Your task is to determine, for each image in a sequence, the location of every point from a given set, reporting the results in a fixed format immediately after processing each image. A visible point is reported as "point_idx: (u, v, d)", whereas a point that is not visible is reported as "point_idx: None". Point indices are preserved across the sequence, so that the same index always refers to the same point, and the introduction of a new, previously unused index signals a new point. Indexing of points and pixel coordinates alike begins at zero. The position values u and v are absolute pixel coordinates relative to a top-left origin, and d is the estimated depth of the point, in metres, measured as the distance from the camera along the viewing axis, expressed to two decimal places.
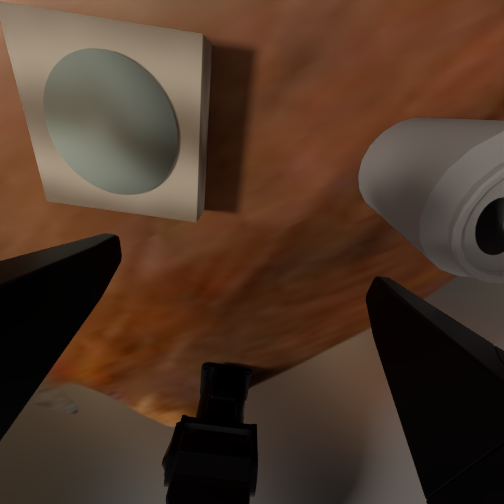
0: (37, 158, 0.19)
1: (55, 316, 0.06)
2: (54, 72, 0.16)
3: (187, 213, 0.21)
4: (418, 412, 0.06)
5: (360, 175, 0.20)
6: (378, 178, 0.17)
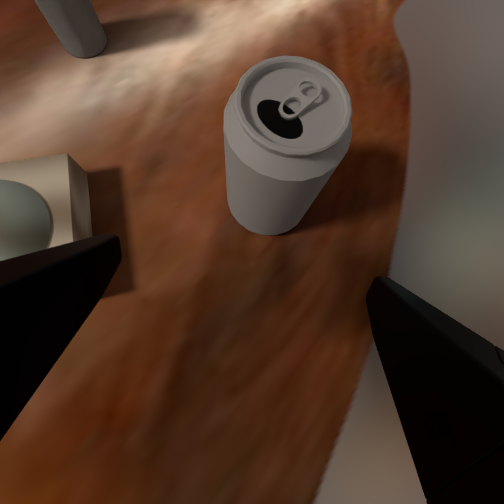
0: None
1: (55, 316, 0.06)
2: None
3: None
4: (418, 412, 0.06)
5: (230, 210, 0.23)
6: (228, 186, 0.20)
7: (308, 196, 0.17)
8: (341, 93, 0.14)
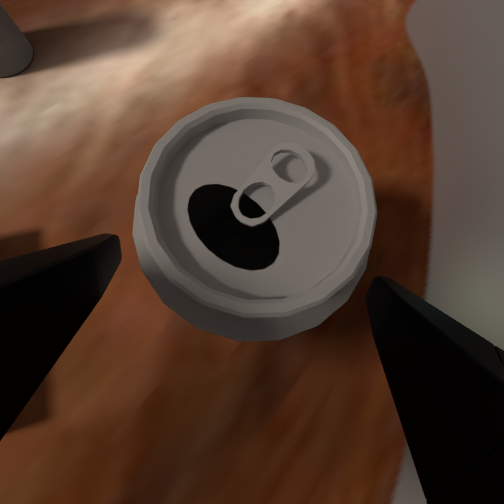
0: None
1: (55, 316, 0.06)
2: None
3: None
4: (418, 412, 0.06)
5: None
6: None
7: None
8: (354, 170, 0.07)
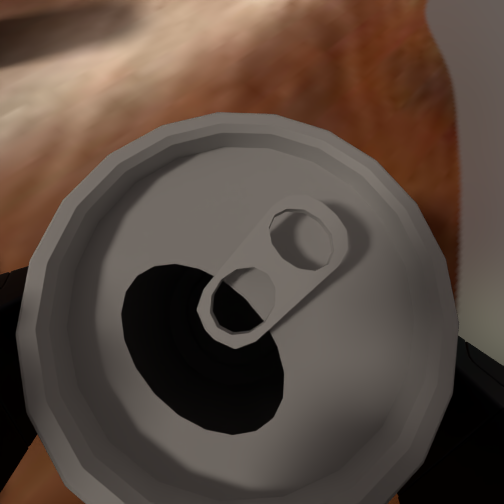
0: None
1: None
2: None
3: None
4: None
5: (172, 343, 0.13)
6: None
7: None
8: (412, 240, 0.04)
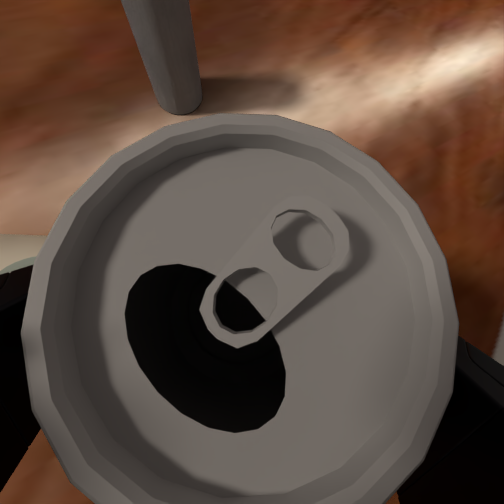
0: None
1: None
2: None
3: None
4: None
5: (173, 342, 0.13)
6: None
7: None
8: (413, 241, 0.04)
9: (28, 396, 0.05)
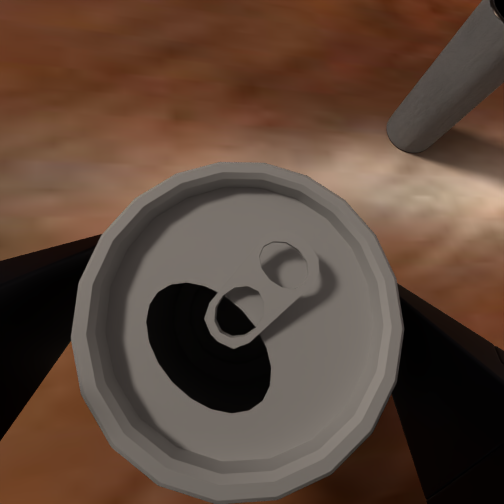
0: None
1: (55, 316, 0.06)
2: None
3: None
4: (418, 412, 0.06)
5: (177, 343, 0.14)
6: None
7: None
8: (371, 264, 0.05)
9: None
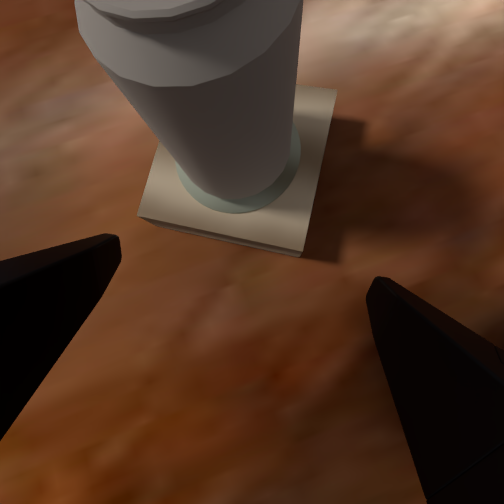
0: (151, 173, 0.19)
1: (55, 316, 0.06)
2: None
3: (293, 239, 0.17)
4: (418, 412, 0.06)
5: (189, 178, 0.17)
6: None
7: (267, 111, 0.10)
8: None
9: None
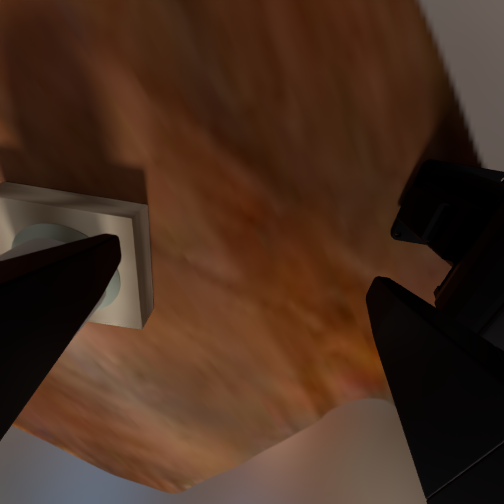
0: (108, 323, 0.25)
1: (55, 316, 0.06)
2: None
3: (123, 226, 0.20)
4: (418, 412, 0.06)
5: None
6: None
7: None
8: None
9: None
